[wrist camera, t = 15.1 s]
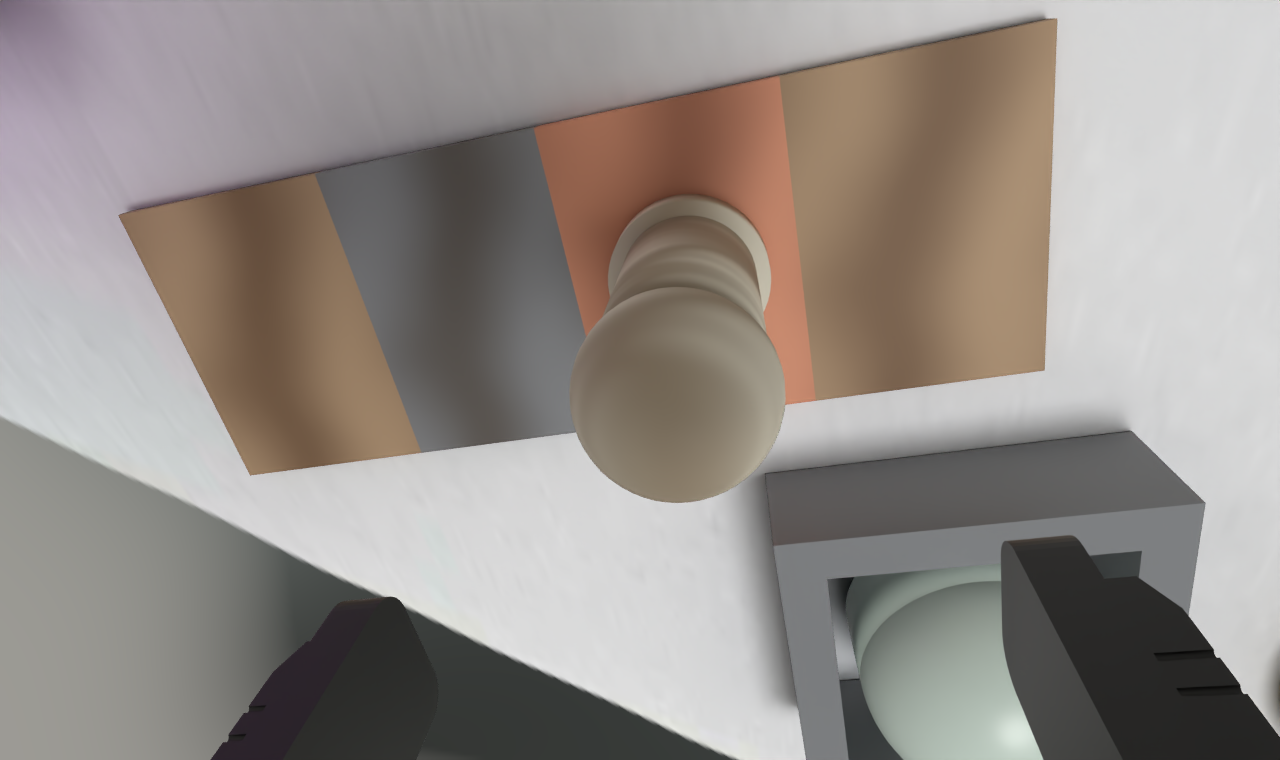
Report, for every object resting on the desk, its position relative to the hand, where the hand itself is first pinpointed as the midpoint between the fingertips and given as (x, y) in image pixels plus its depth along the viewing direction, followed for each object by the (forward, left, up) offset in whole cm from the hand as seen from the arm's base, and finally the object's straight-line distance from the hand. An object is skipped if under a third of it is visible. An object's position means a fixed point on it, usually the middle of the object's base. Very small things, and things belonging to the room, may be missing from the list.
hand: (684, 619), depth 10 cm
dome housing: (-7, +14, -15) cm, 21 cm away
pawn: (0, 0, -14) cm, 14 cm away
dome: (-7, +14, -15) cm, 21 cm away
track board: (+4, 0, -15) cm, 15 cm away
